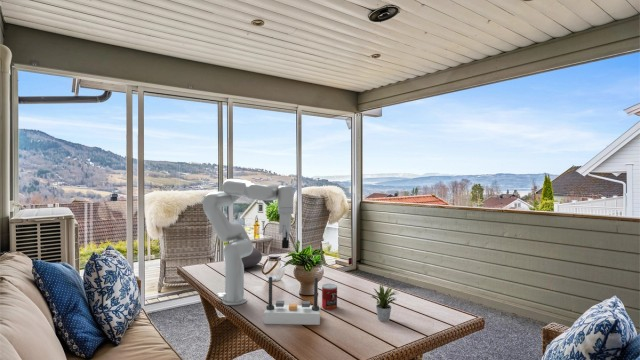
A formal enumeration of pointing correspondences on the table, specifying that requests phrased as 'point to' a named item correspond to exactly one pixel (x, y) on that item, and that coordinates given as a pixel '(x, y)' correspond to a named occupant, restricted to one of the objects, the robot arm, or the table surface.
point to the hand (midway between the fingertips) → (285, 247)
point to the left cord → (270, 296)
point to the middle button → (292, 306)
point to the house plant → (384, 303)
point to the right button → (305, 303)
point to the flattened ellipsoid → (252, 258)
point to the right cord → (315, 295)
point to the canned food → (329, 296)
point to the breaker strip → (292, 315)
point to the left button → (279, 303)
